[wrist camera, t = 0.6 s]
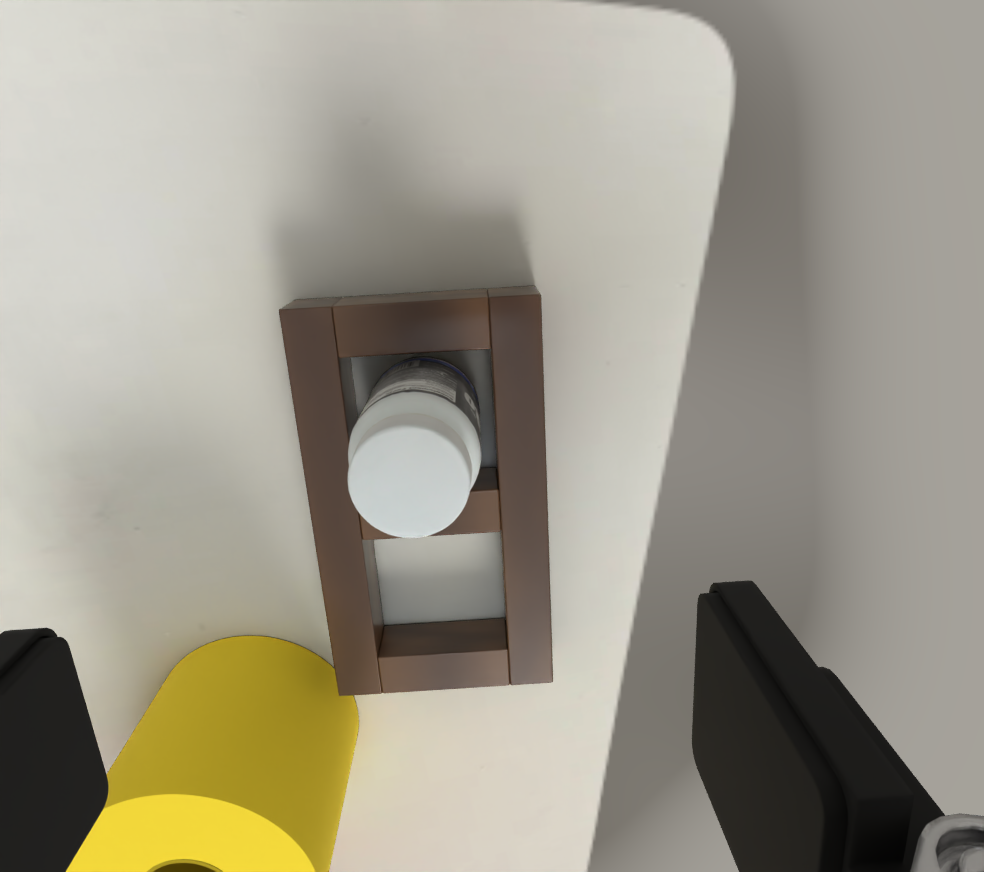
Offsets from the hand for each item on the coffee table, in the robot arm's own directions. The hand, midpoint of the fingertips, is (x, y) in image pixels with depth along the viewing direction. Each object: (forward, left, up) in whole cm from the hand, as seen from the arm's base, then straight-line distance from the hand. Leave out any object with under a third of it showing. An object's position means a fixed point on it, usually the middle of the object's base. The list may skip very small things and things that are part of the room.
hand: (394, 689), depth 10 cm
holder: (+6, -1, -21) cm, 21 cm away
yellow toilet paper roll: (+18, -11, -21) cm, 29 cm away
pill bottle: (+2, -1, -21) cm, 21 cm away
